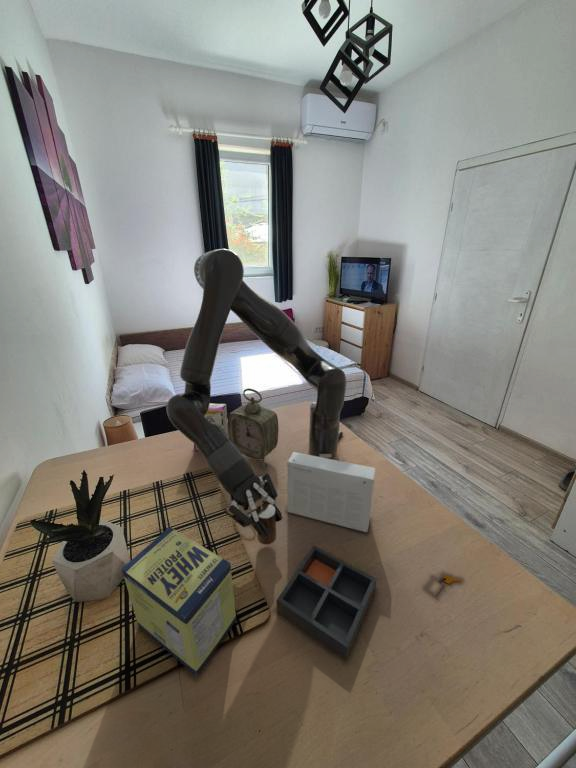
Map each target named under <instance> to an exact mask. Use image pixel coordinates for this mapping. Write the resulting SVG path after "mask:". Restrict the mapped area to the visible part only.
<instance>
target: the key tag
mask: <svg viewBox="0 0 576 768" xmlns="http://www.w3.org/2000/svg"><path fill="white" fill-rule="evenodd" d="M442 581H444V583H446V584H448V585H451V584H452V583H454V582H455V583H461V582H462V581H463V580H462V579H458V578H452V577H450V576H449V575H448V574H445V575H443V577H441V578H440V579H439V580H438V583H439V584H440V585H441V586H442V587H441V588H440V589H439V591H438V592H437V593H436V595H435V594H434V593H433V592H431V591H430V592H429V593H430V594H431V595H432V596H434V597H435V598H438V596H439V594H440V593H441V592H442V590H443V589H444V587H445V585H444V584H443V583H442Z"/></svg>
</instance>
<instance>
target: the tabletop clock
mask: <svg viewBox="0 0 576 768" xmlns="http://www.w3.org/2000/svg"><path fill="white" fill-rule="evenodd" d="M248 391H249V392H252V393H255V394H257V395H258V396H259V398H260V399H259V400H255V397H254V396H251V397H250V398H249V397H248V396H246V394H245V393H246V392H248ZM242 395H243V397H244V399H246V400H247V401H249V402H247V403H245V404H242V405H240V406H239V407H238V408H236V409H234V410H233V411H231V412H230V413H228V415H227V423H228V436H229V439H230V440H231V442H232V443H233V444H234V445H235V446H236V447H237V448H238V450H239V451H240V452H241V454H242V455H243V456H246V457H249V458H252V459H255V460H259V461H260V460H261V461H262V463H261V467H262V468H264V469H265V468H266V467H267V466H268V465H267V463H266V462H265V459H266V457H267V456H268V455H269V454H271V452H272V451H274V450H275V449H276V448H277V446H278V443H279V431H280V428H279V418H278V414H277V413H276V412H275V411H274V410H272V409H269V408H267V407H264V406H262V405H261V404H260V402H262V400H263V397H262V394H261V393H260V392H259V391H258V390H256V389H253V388H249V387H248V388H244V390H243V392H242Z"/></svg>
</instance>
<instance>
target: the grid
mask: <svg viewBox="0 0 576 768" xmlns="http://www.w3.org/2000/svg"><path fill="white" fill-rule="evenodd" d="M377 581H378V580H377V578H376V577H374V576H372V575H370V574H368V573H367V572H364V571H362V570H360V569H359V568H357V567H355V566H353V565H351V564H350V563H347V562H346V561H344V560H341V559H340V558H338V557H336V556H335V555H333V554H331V553H329V552H328V551H326V550H323V549H321V548H319V547H317V546H316V545H313V546H312V547H311V549H310V550H309V552H308V553H307V554H306V556H305V557H304V559H303V560H302V562H301V564H300V565H299V567H298V568H297V569H296V571H295V572H294V574H293V575H292V577H291V578H290V579H289V581H288V583H287V584H286V585H285V587H284V588H283V590H282V591H281V593H280V595H279V596H278V597H277V599H276V612H277V613H278V614H280V615H281V616H282V617H284V618H285V619H287V620H288V621H290V622H291V623H293V624H294V625H295V626H297V627H298V628H300V629H301V630H303V631H304V632H305V633H307V634H308V635H310V636H311V637H312V638H314V639H316V640H317V641H318V642H320V644H323V645H324V646H325V647H327V648H328V649H329V650H331V651H333V652H334V653H335V654H337V655H339V657H341V658H343V659H344V660H347V659H348V656H349V654H350V651H351V649H352V647H353V644H354V642H355V640H356V637H357V635H358V632H359V630H360V627H361V625H362V623H363V620H364V617H365V615H366V613H367V611H368V608H369V605H370V603H371V600H372V599H373V596H374V593H375V591H376V585H377Z"/></svg>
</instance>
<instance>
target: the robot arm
mask: <svg viewBox="0 0 576 768" xmlns="http://www.w3.org/2000/svg"><path fill="white" fill-rule="evenodd" d="M193 273H194V274H193V275H194V277H195V280H196V282H197V283H198V285H199V287H200V288H201V289H202V290H203V291H202V301H201V305H200V309H199V312H198V316H197V317H196V321H195V323H194V326H193V328H192V329H191V332H190V335H189V336H188V339H187V342H186V345H185V349H184V353H183V357H182V361H181V365H180V370H179V371H180V372H179V377H180V379H181V380H182V381H183V382H184V385H185V386H184V392H182V393H178V394H174V395H173V396H171V397H170V398H169V399H168V401H167V403H166V407H165V408H166V415H167V417H168V420H169V422H171V424H172V425H173V427H175V428H176V429H177V430H178V431H179V432H180V433H181V434H182V435H183V436H184V437H185V438H187V439H188V440H189V441H190V442H192V443H193V445H194V444H195V445H196V447H197V448H198V450H197V451H199V453H200V455H201V456H202V457H203V458H204V460H205V462H206V463H207V465H208V468H209V469H210V470H211V472H212V474H213V475H214V477H216V479H217V480H218V482H219V483H220V485H221V486H222V488H223V489H224V490H225V492H226V493H228V494H229V496H230V500H231V502H230V504H229V505H228V507H226V508H225V509H224V513H225V514H226V515H228V516H229V517H230V518H231V519H232V520H234V521H235V522H236V523H238V524H239V525H240V526H241V527H242V528H246V527H248V526H252V527H253V529H254V530H255V532H256V534H257V533H258V534H259V535H260V536H263V537H266V536H268V535H269V533H270V532H269V531H268V529H267V528H266V526H265V525H264V524H263V522H262V521H261V520H259V517H258V515H257V512H256V509H257V506H256V502H258V503H260V504H261V505H262V504H271V505H273V506H274V507H275V510H276V523H277V522H280V521H282V520H283V514H282V512H281V510H280V509H279V508H278V506H277V504H276V503H275V500H276V498H278V492H277V490H276V488H275V485H274V483H273V480H272V479H271V475H270V474H269V473H264V474H262V475H261V476H258V475H256V474H255V472H254V469H253V468H252V466H251V465H250V464H249V462H248V461H247V459H246V458H245V455H244V454H242V453H241V452H240V451H239V450H238V448H237V447H236V446H235V445H234V444H233V443H232V442H231V440H230V439H229V437H228V436H229V435H228V436H227V435H226V433H225V432H224V430H223V429H222V428H221V427H220V426H219V425H218V424H217V423H213V422H209V421H208V420H207V419H206V418H205V417H204V416H205V414H206V413H207V411H208V408H209V404H210V403H211V393H212V392H211V389H212V384H211V383H212V381H211V380H212V375H213V372H214V369H215V368H214V367H215V363H216V360H217V359H216V358H217V355H218V350H219V347H220V343H221V339H222V335H223V332H224V329H225V327H226V323H227V320H228V318H229V315H230V312H232V313H233V314H234V315H236V316H237V318H238V319H240V321H241V322H242V323H243V324H244V325H245V326H246V327H247V328H248V329H249V330H250V331H251V332H252V333H253V334H254V335H255V336H256V337H257V338H258V339H259V340H260V341H261V342H262V343H263V344H264V345H265V346H266V347H267V348H268V349H270V350H271V351H272V352H273V353H275V354H276V355H277V356H278V357H280V358H281V359H283V360H284V361H285V362H287V363H289V364H290V365H292V366H293V367H294V369H295V370H297V372H298V373H299V374H300V375H301V376H302V377H303V379H304V380H305V381H306V382H307V384H308V385H309V386H310V387H311V388H312V389H313V390H314V391H316V393H317V394H316V400H314V401H313V402H312V403H311V404H310V406H309V428H308V429H309V431H308V432H309V433H308V455H312V456H317V457H322V458H327V459H332V460H337V461H338V451H339V450H338V448H339V440H340V439H341V437H342V436H343V434H344V432H342V431H340V424H341V423H340V422H341V421H340V420H341V412H342V409H343V408H344V405H345V398H346V391H347V390H346V389H347V376H346V373H345V372H344V370H342V369H341V368H340V367H338V366H336V365H335V364H333V363H331V362H330V361H328V360H327V359H325V358H323V357H322V356H321V355H320V354H319V353H317V352H316V351H315V350H314V349H313V348H312V347H311V346H310V344H309V342H308V341H307V338H306V337H305V335H304V333H303V332H302V330H301V329H300V328H299V326H298V325H297V323H295V322H294V321H293V320H292V319H291V318H290V317H289V316H288V315H287V314H286V312H284V311H283V310H281V308H279V307H278V306H277V305H275V304H274V303H272V302H270V301H269V300H268V299H266V298H264V297H263V296H261V295H259V294H258V293H256V292H255V291H254V290H253V289H252V288H251V287H250V286H249V285H248V284H247V283H246V282H245V281H244V276H245V275H244V274H245V269H244V265H243V262H242V260H241V258H240V257H239V256H238V254H236V253H235V252H234V251H233V250H231V249H226V248H218V249H214V250H210V251H207V252H204V253H203V254H201V255H200V256H199V257H197V258H196V260H195V262H194V265H193ZM239 506H240V507H241V509H242V511H241V510H240V507H239Z"/></svg>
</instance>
